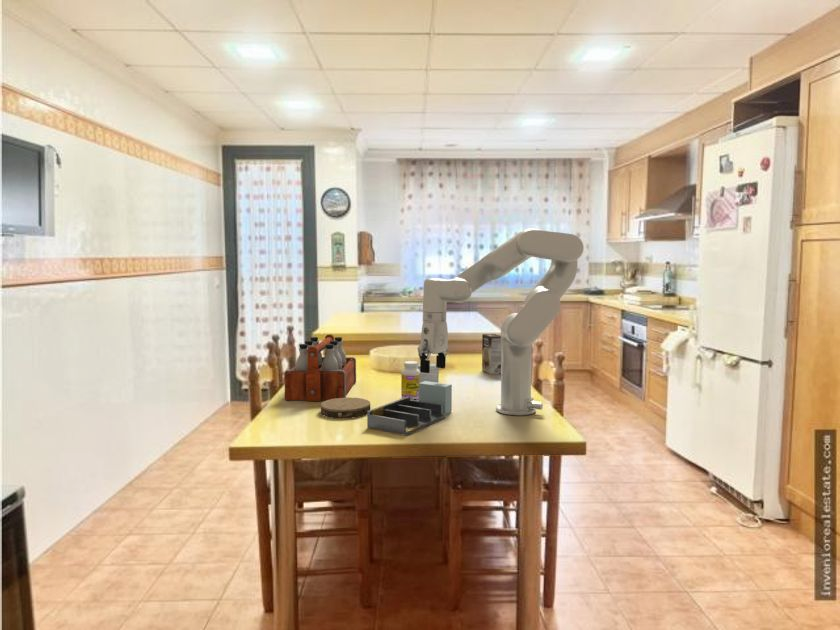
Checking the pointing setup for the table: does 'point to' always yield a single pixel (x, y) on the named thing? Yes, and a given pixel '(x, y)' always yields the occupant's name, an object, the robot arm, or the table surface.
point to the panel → (436, 394)
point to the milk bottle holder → (320, 371)
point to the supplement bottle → (410, 380)
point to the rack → (404, 416)
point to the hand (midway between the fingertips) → (432, 370)
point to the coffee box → (491, 353)
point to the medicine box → (430, 374)
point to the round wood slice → (345, 407)
